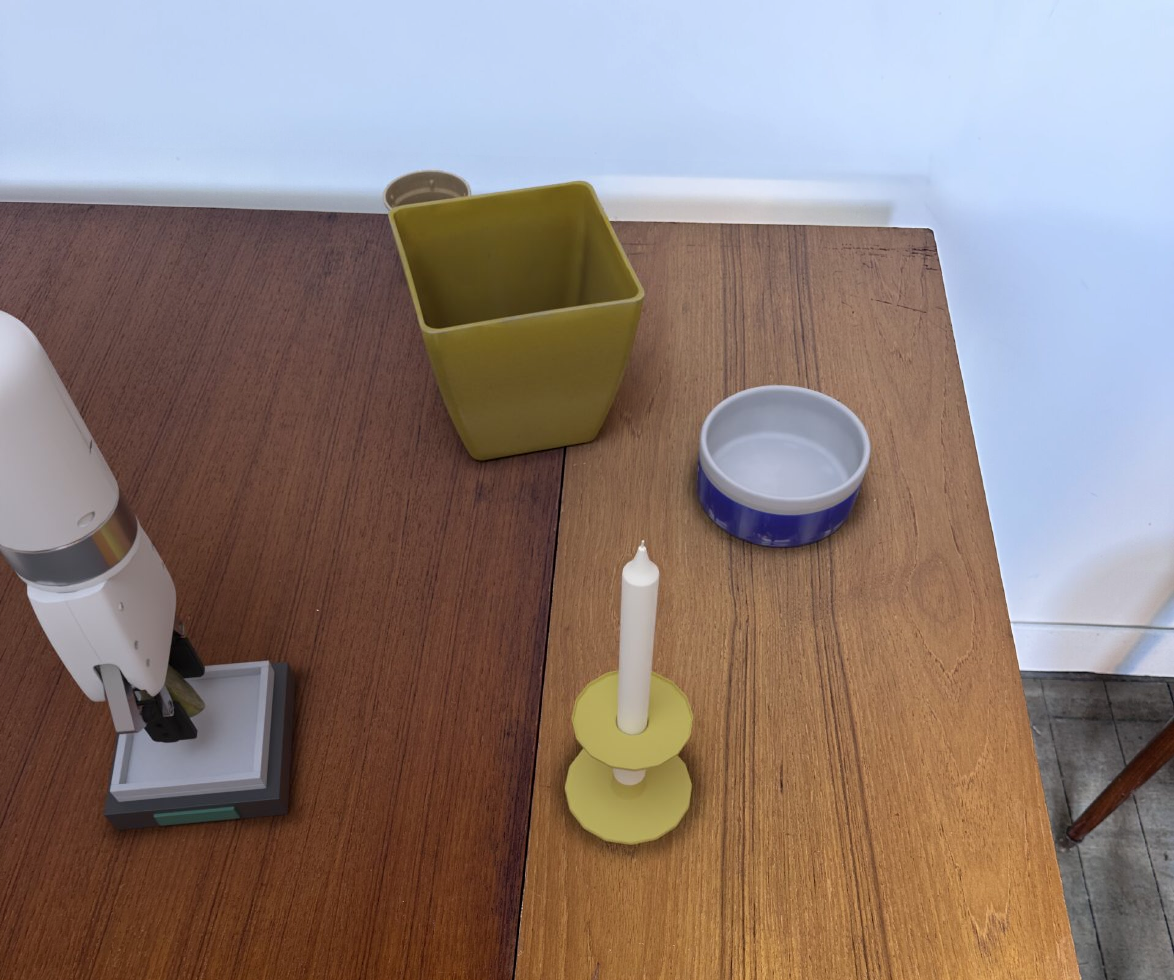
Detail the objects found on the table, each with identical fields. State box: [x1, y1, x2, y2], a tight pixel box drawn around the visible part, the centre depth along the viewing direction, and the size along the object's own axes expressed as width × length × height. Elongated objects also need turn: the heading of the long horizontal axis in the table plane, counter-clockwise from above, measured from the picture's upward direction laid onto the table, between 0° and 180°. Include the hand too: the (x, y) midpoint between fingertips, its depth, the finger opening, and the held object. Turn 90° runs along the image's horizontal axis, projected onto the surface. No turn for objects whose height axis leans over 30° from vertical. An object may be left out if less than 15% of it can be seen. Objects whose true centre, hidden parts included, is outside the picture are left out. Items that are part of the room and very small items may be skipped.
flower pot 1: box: [382, 169, 472, 212], centre depth 107 cm, size 9×9×9 cm
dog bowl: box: [696, 384, 871, 548], centre depth 90 cm, size 15×15×6 cm
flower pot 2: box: [387, 180, 646, 461], centre depth 91 cm, size 19×19×17 cm
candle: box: [564, 539, 694, 846], centre depth 65 cm, size 10×10×27 cm
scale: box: [103, 660, 296, 831], centre depth 76 cm, size 13×13×4 cm
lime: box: [139, 664, 206, 718], centre depth 71 cm, size 4×5×5 cm
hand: (179, 704), depth 72 cm, fingers closed on lime, 5 cm apart
